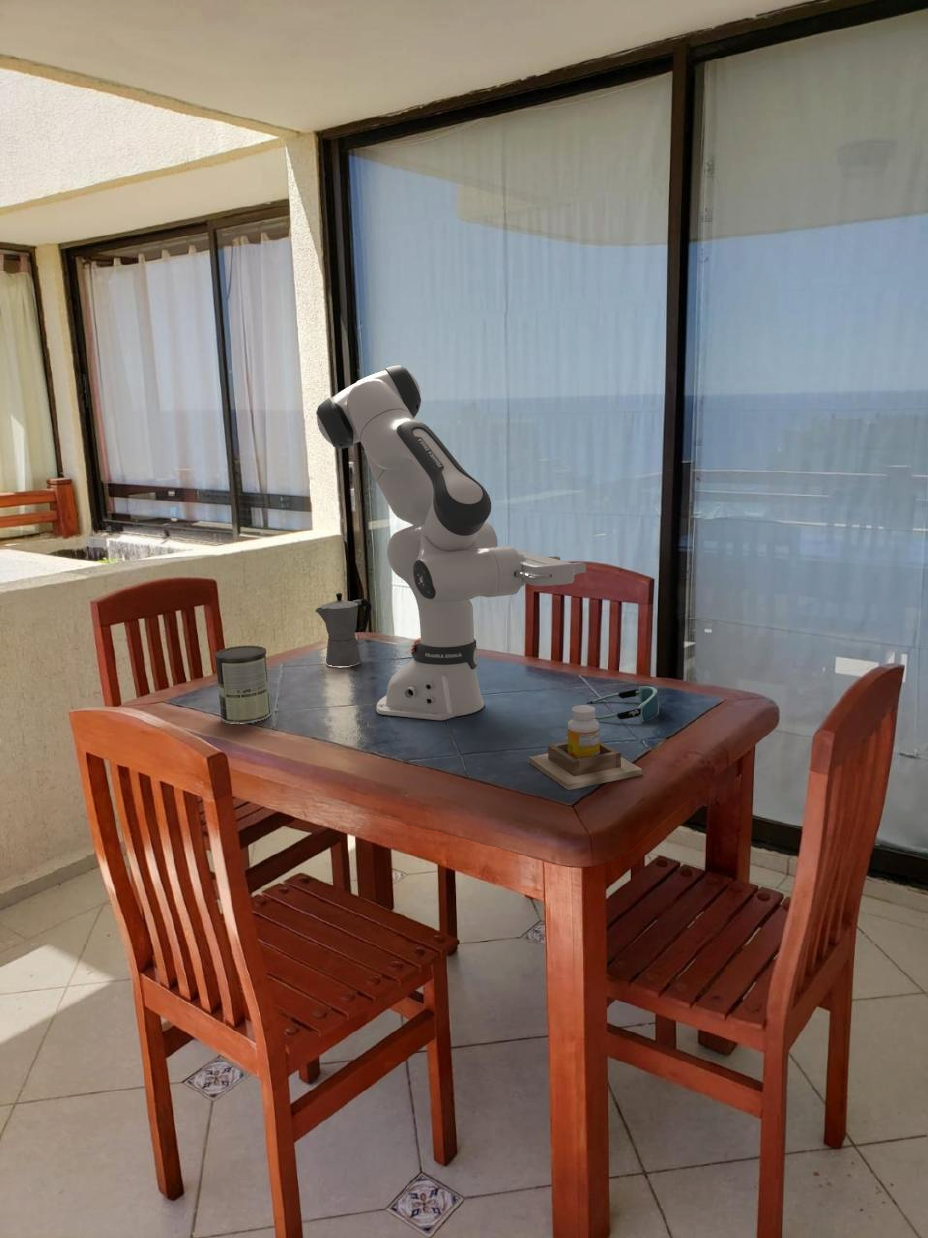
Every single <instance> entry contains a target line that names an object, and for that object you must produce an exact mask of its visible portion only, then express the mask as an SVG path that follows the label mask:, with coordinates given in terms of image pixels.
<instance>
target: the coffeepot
mask: <svg viewBox="0 0 928 1238" xmlns="http://www.w3.org/2000/svg"><path fill="white" fill-rule="evenodd" d="M335 596H336V600H333V601H331V602H327V603H323V604H321V606H319V607H317V608H315V613H317V614H318V615H319V617H321V619H322V621H323V622H324V625H325V627H326V628H325V629H326V632H327V646H326V657H325V664H326V663H327V664H328V665H332V666H350V665H354V664H357V663H359V662H361V663H362V659H361V655H360V649H359V646H358V641H357V638H356V631H357V630H358V632H359V633H360V632H364V631H366V630H367V628H368V625H369V619H370V615H371V612H372V611H371V610H372V607H373V606H372V604H371V602H370V601H369V600H368V599H367V598H360V599H355V600H352V601H349V600H345V599H344V600H343V593H341V592H338V593H336V594H335ZM361 607H364V610H363V618H362V620H361V621H362V626H361V627H360V628H357V622H358V619H357V618H358V612H359V611H358V609H359V608H361Z"/></svg>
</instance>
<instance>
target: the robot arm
mask: <svg viewBox="0 0 928 1238" xmlns="http://www.w3.org/2000/svg"><path fill="white" fill-rule="evenodd" d="M421 403H422V398H421V390H420V386H419V383H418V381H417V379H416V377H414V375H413V374H412V373H411V372H410V371H409V370H408V369H407V368H406V367H404V366H403V365H400V364H399V365H393V366H389V367H385V368H384V370H382V371H379V372H376V373H373V374H370V375H368V376H366V377H363V378H362V379H359V380H357V381H356V382H355V383H353V384H351V385H349V386H348V387H346V388H345V389H343V390H340V391H339V392H338V393H336V394H335V395H334V396H332V397H331V398H330V397H328V398H326V399H324V401H323V402H321V403H320V404H318V406H317V409H316V412H315V413H316V420H317V421H316V422H317V426H318V430H319V431H320V432H319V433H321V435H322V437H323V438H324V439H325V441H326V442H328V443H329V444H331V445H332V447H333V448H336V449H339V450H341V449H347V448H349V447H353V446H354V444H356V443H361V445H362V447H363V449H364V454H365V457H366V460H367V463H368V466H369V468H370V471H371V473H372V475H373V478H374V481H376V484H377V485H378V487H379V489H380V491H381V493H382V494H383V497H384V498H385V501H386V502H387V504H388V506H389V507H390V509H391V511H392V512H393V514H394V515H395V516H396V517H397V518H398V519H400V520H401V521H403V522H406V523H408V524H411V525H410V526H408V527H407V526H406V527H405V528H403V529H400V530H398V531H396V532H395V533H393V534H392V535H391V537H390V539H389V540H388V543H387V549H386V556H387V557H386V558H387V561H388V565H389V566H390V568H391V570H392V571H393V572H394V574H395V575H396V576H397V577H399V578H401V579H402V580H403V581H404V582H405V583H406V584H407V585H408V587H409V588H410V590H411V593H413V596H414V598H415V601H416V605H417V610H418V617H419V628H420V629H419V631H420V632H419V633H420V637H418V638H417V639H416V640H415V641H414V642H413V645H411V648H410V654H411V656H412V659H411V660H410V661H408V663H406V664H405V665H403V666H402V667H401V668H400V669H399V670H398V671H396V672H395V673H394V674H393V675H392V676H391V678H390V679H389V681H388V684H387V690H386V695H384V696H383V697H381V698H380V699H379V700H378V702H377V703H376V707H375V708H376V713H377V714H379V715H384V716H395V717H402V718H403V717H406V718H413V719H425V720H433V721H445V720H449V719H452V718H456V717H459V716H465V715H470V714H473V713H477V712H478V711H480V710H482V709H483V708H484V706H485V702H484V699H483V696H482V692H481V689H480V685H479V679H478V673H477V666H478V646H477V640H476V638H475V629H474V626H475V625H474V624H475V623H474V622H475V621H474V606H473V604H472V602H471V600H472V599H475V598H477V597H485V598H496V597H503V596H504V597H505V596H506V597H507V596H512V595H513V596H514V595H517V594H518V593H519V591H520V590H521V588H523V587H524V586H525V585H526V584H527V585H531V586H535V587H537V586H538V587H545V586H546V587H548V586H551V587H552V586H562V585H569V584H572V583H574V582H575V576H576V575H577V574H583V573H584V574H585V573H586V571H587V564H586V562H582V561H579V562H578V561H577V562H573V563H572V562H569V561H565V560H561V557H560V556H557V555H550V556H546V555H545V556H544V555H541V554H536V553H534V552H527V551H524V550H517V549H516V548H514V547H513V546H511V545H504V546H503V545H501V546H498V543H499V542H498V536H497V533H496V531H495V530H494V528H493V526H492V525H491V524H490V523H489V522H488V521H487V520H488V519H489V516H491V512H492V500H491V497H490V495H489V493H488V491H487V490H486V489H485V487H484V486H483V485H482V484H481V483H480V482H478V481H477V480H476V479H475V478H474V477H472V476H471V475H470V474H469V473H468V472H467V471H466V470H465V469H464V468H463V467H462V466H461V465H460V463H459V462H458V461H457V459H456V458H455V457H454V456H453V454H452V453H451V452H450V451H449V450H448V448H447V447H446V445H445V444H444V443H443V442H442V441H441V439H440V438H439V437H438V436H437V435H436V433H435V432H434V431H433V430H432V429H431V428H430V427H429V426H428V425H426V424H425V423H423V422H422V421H419V420H416V419H415V418H416V416H417V414H418V413H419V411H420V407H421Z"/></svg>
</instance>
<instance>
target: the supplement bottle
mask: <svg viewBox="0 0 928 1238" xmlns="http://www.w3.org/2000/svg"><path fill="white" fill-rule="evenodd" d="M570 714H571V718H572V719H569V721H568V723H567V742H568V754H569V755H570V756H572V757H574V758H575V759H579V758H585V757H590V756H595V755H600V741H601V739H600V738H601V737H600V729H601V728H600V722H599V720H595V719H594V718H595V717H596V708H595V707H594V706H592V705H589V704H583V705H582V704H580V705H575V706H572V707H571V713H570Z"/></svg>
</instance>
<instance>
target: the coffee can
mask: <svg viewBox="0 0 928 1238" xmlns="http://www.w3.org/2000/svg"><path fill="white" fill-rule="evenodd" d="M266 654H267V649H266V648H265V647H263V646H259V645H237V646H232V647H231V646H230V647H226V648H223V649H220V650H218V651H216V652H215V653H214V658H215V659H214V660H215V665H216V666H215V668H216V675H217V685H218V687H217V688H218V697H219V707H220V720H221V719H222V720H223V721H224V722H228V723H234V724H237V723H238V724H240V723H252V722H257V721H260V722H262V721H261V720H263V721H265V720H267V719H268V718H267V717H269V716H270V714H271V715H272V712H271V711H272V710H271V701H270V691H269V690H270V689H269V680H268V666H267V655H266ZM270 717H271V716H270ZM270 717H269V718H270ZM266 718H267V719H266ZM264 719H265V720H264ZM222 720H221V721H222ZM224 722H223V723H224ZM257 723H258V722H257ZM252 724H253V723H252Z"/></svg>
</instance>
